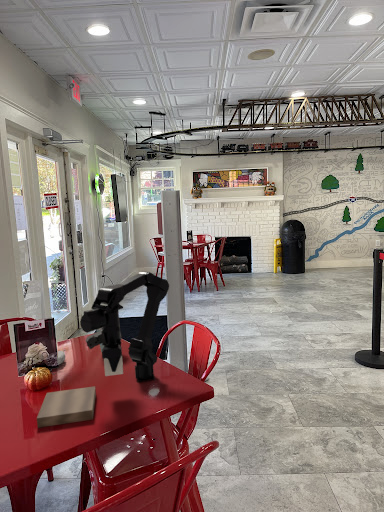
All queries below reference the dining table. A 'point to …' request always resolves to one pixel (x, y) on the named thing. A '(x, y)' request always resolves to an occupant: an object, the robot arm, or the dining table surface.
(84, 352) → the dining table surface
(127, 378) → the dining table surface
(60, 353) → the robot toy
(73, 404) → the walnut base
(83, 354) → the dining table surface
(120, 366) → the cream cube
